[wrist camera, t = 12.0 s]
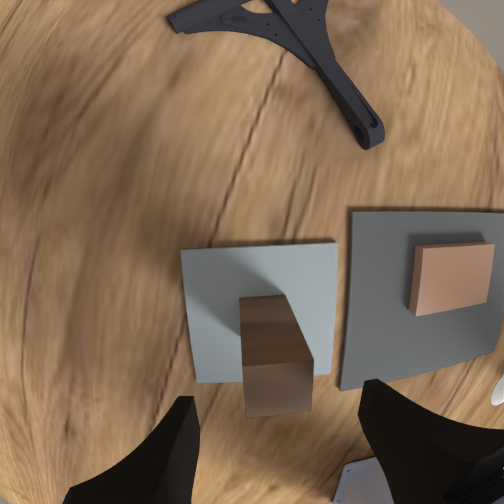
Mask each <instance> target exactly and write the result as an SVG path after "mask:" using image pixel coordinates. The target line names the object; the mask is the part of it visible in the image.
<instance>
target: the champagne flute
mask: <svg viewBox="0 0 504 504" xmlns="http://www.w3.org/2000/svg"><path fill="white" fill-rule="evenodd" d="M502 402H504V374H503V376H502V377H501V378H500V380H499V381H498V383H497V385H496V386H495V388H494V390H493V393H492V396H491V404H492V405H498V404H500V403H502Z"/></svg>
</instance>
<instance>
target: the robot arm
mask: <svg viewBox="0 0 504 504" xmlns="http://www.w3.org/2000/svg"><path fill="white" fill-rule="evenodd" d="M358 417H359V420H360V423H361V426H362V429H363V432H364V434H365V436H366V438H367V440H368V442H369V444H370V446H371V448H372V450H373V452H374V454H375V456H376V457H373V458H369V459H365V460H361V461H357V462H353V463H348V464H346V465H345V466H344V468H343V471H342V475H341V478H340V481H339V485H338V488H337V491H336V494H335V497H334V500H333V504H504V469H503V467H504V430H502V429H488V428H482V427H476V426H471V425H467V424H463V423H460V422H456V421H453V420H450V419H447V418H445V417H443V416H440V415H438V414H435V413H433V412H431V411H429V410H427V409H425V408H423V407H422V406H420V405H418V404H416V403H414V402H413V401H411V400H409V399H408V398H406V397H405V396H403V395H402V394H400V393H399V392H397V391H396V390H394V389H393V388H391V387H390V386H388V385H387V384H385V383H384V382H382V381H381V380H379V379H377V378H376V379H370V380H365V381H364V385H363V390H362V396H361V401H360V406H359V410H358ZM199 447H200V426H199V421H198V416H197V411H196V406H195V401H194V396H179V397H178V398H177V399H176V400H175V402H174V403H173V405H172V406H171V408H170V409H169V411H168V412H167V413H166V415H165V416H164V417H163V419H162V420H161V421H160V423H159V424H158V425H157V426H156V428H155V429H154V430H153V431H152V432H151V433H150V434H149V435H148V437H147V438H146V439H145V440H144V441H143V442H142V443H141V444H140V445H139V446H138V447H137V448H136V449H135V450H133V451H132V452H131V453H130V454H129V455H128V456H126V457H125V458H124V459H122V460H121V461H120V462H119V463H117V464H116V465H114V466H113V467H111V468H110V469H108V470H106V471H105V472H103V473H101V474H99V475H98V476H96V477H94V478H92V479H90V480H87V481H85V482H83V483H80V484H78V485H75V486H73V487H70V489H69V491H68V492H67V494H66V496H65V499H64V501H63V503H62V504H191V497H192V489H193V483H194V477H195V472H196V466H197V460H198V455H199Z"/></svg>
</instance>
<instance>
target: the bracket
mask: <svg viewBox="0 0 504 504" xmlns="http://www.w3.org/2000/svg"><path fill="white" fill-rule="evenodd" d="M249 1H252V0H200V1H197V2H195V3H193V4H191V5H189V6H187V7H185V8H183V9H181V10H179V11H177V12H175V13H173V14H171V15H169V16H167V17H166V18H167V20H168V21H169V22H171V23H172V25H173V27H174V29H175V30H176V33H177V34H178V33H180V32H182V31H184V33H185V34H191V33H198V32H207V31H231V32H239V33H245V34H250V35H254V36H258V37H262V38H265V39H268V40H270V41H272V42H274V43H276V44H278V45H280V46H282V47H283V48H285V49H287V50H288V51H290V52H291V53H293V54H294V55H295V56H297V57H298V58H299V59H300V60H302V61H303V62H304V63H305V64H306V65H308V66H309V67H310V68H311V69H314V68H315V69H316V71H317V72H318V74H319V75H320V77H321V78H322V80H323V82H324V83H325V85H326V86H327V88H328V90H329V91H330V93H331V94H332V96H333V98H334V99H335V101H336V103H337V104H338V106H339V108H340V109H341V111H342V113H343V115H344V116H345V118H346V120H347V122H348V123H349V125H350V127H351V129H352V131H353V133H354V134H355V136H356V138H357V140H358V142H359V144H360V146H361V148H362V149H364V150H368V149H370V148H372V147H374V146H376V145H378V144H379V143H381V142H383V141H384V138H385V130H384V126H383V123H382V121H381V119H380V118H379V116H378V115H377V114H376V113H375V111H374V110H373V109H372V107H371V106H370V105H369V103H368V102H367V101H366V99H365V98H364V97H363V95H362V94H361V93H360V91H359V90H358V89H357V87H356V86H355V85H354V84H353V82H352V81H351V80H350V78H349V77H348V76H347V75H346V73H345V72H344V71H343V69H342V68H341V67H340V65H339V64H338V63H337V61H336V60H335V55H334V52H333V50H332V47H331V44H330V41H329V38H328V33H327V28H326V21H325V13H326V8H327V4H328V0H301V1H300V3H298V4H297V5H294V4H293V3H292V1H291V0H264V1H265V2H266V3H267V4H268V5H269V6H270V8H271V9H272V10H273V11H274V12H275V13H272V14H257V13H253V12H250V11H248V10H246V9H245V8H243V7H242V6H241V4H244V3H246V2H249Z"/></svg>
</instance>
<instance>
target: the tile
mask: <svg viewBox="0 0 504 504" xmlns="http://www.w3.org/2000/svg"><path fill="white" fill-rule="evenodd" d="M494 247H495V244H492V243H489V242H470V243H452V244H433V245H415V255H414V267H413V277H412V287H411V295H410V303H409V310H408V311H409V312H410V313H412V314H413V315H414V316H421V315H427V314H432V313H437V312H443V311H448V310H453V309H458V308H463V307H467V306H472V305H476V304H481V303H485V302H486V300H487V295H488V290H489V284H490V278H491V271H492V264H493V256H494Z"/></svg>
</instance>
